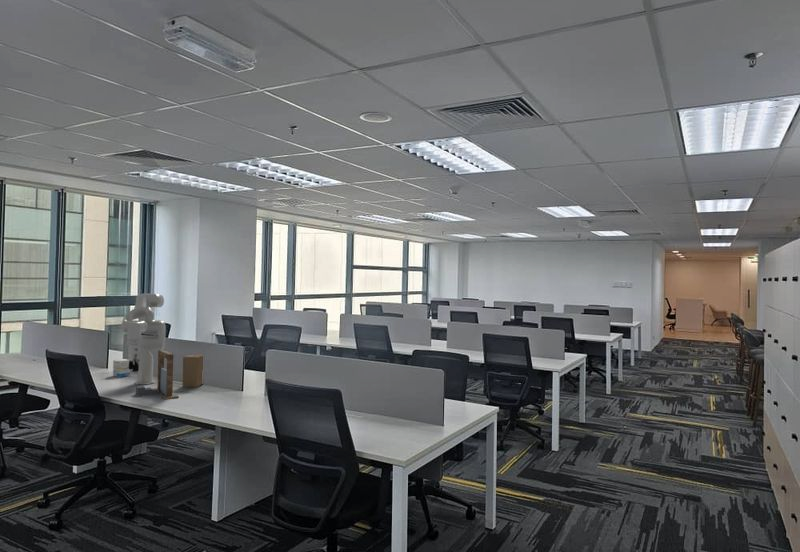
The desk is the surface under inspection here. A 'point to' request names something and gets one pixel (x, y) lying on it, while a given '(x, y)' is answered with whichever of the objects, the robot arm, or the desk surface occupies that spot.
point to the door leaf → (163, 380)
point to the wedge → (145, 391)
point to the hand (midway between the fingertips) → (133, 370)
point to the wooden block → (192, 370)
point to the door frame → (169, 379)
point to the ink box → (121, 368)
